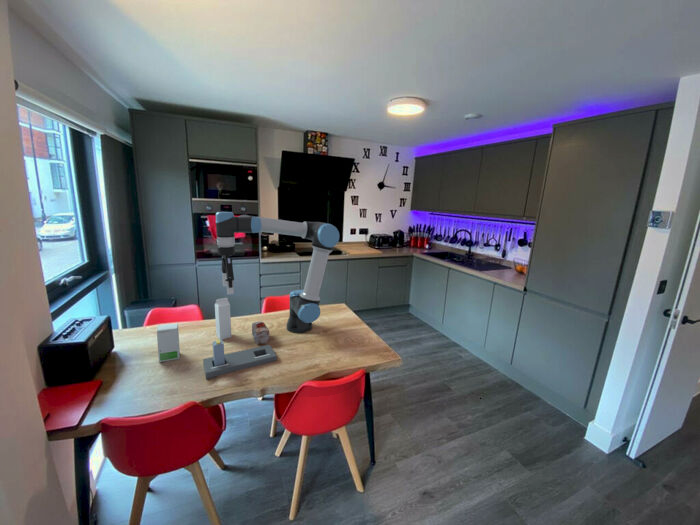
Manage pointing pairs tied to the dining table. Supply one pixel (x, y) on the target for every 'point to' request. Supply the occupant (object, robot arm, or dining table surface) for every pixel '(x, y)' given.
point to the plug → (218, 353)
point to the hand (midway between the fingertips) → (228, 289)
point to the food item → (260, 333)
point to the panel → (240, 361)
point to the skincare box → (168, 342)
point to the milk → (223, 318)
